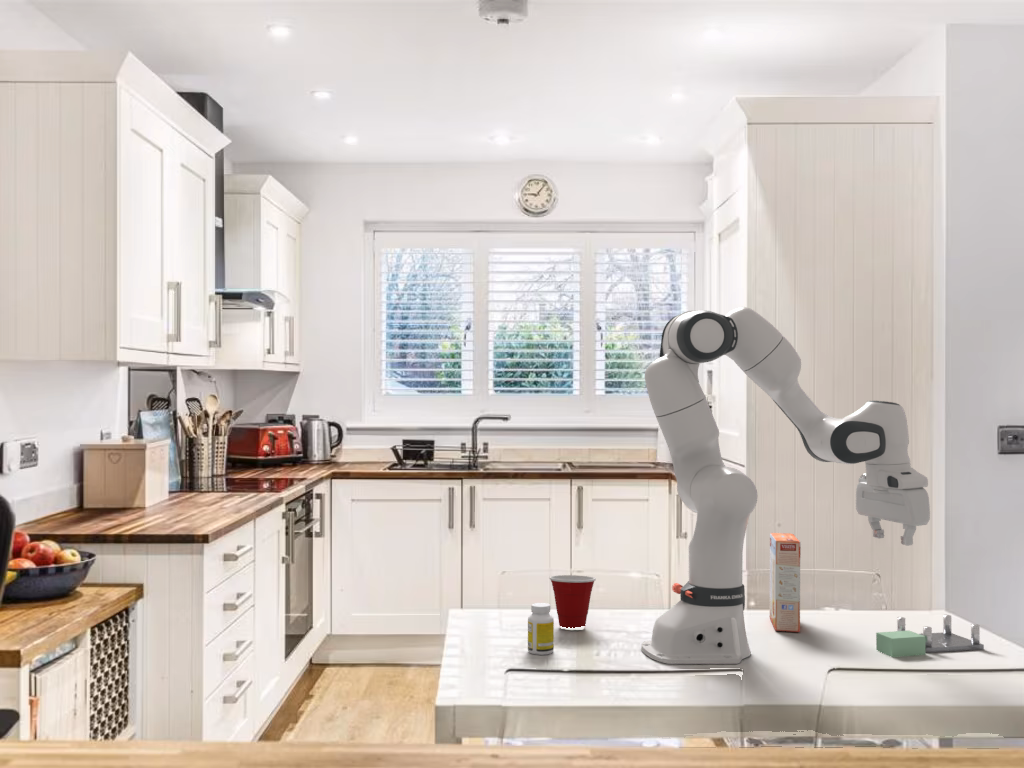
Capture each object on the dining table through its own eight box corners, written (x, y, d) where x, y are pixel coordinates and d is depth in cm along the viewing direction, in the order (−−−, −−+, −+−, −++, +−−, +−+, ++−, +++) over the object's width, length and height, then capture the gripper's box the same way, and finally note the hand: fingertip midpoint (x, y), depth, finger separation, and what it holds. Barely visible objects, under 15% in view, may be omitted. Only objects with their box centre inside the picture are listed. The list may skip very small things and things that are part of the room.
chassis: (925, 652, 183) (925, 628, 184) (893, 639, 194) (893, 617, 194) (983, 649, 186) (983, 625, 186) (949, 636, 197) (948, 614, 197)
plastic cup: (597, 623, 208) (597, 572, 208) (594, 634, 197) (594, 581, 197) (551, 621, 209) (551, 570, 210) (546, 632, 198) (546, 579, 199)
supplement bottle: (558, 650, 184) (558, 603, 184) (545, 657, 179) (545, 608, 179) (536, 647, 187) (536, 600, 187) (522, 652, 182) (522, 605, 182)
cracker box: (801, 633, 199) (801, 541, 200) (774, 632, 200) (773, 540, 201) (794, 619, 213) (794, 532, 213) (769, 617, 214) (768, 531, 215)
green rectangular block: (892, 658, 180) (891, 638, 180) (876, 651, 185) (876, 632, 185) (925, 655, 182) (925, 636, 182) (909, 649, 187) (908, 630, 187)
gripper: (846, 473, 196) (850, 535, 196) (906, 481, 176) (910, 550, 176) (871, 471, 197) (875, 532, 197) (933, 479, 177) (938, 547, 177)
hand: (892, 541), depth 186 cm, fingers open, 8 cm apart
